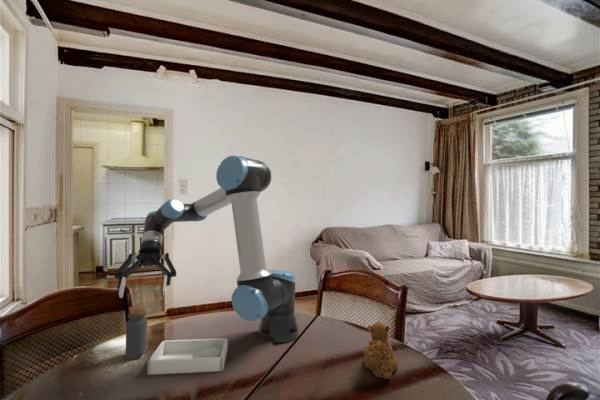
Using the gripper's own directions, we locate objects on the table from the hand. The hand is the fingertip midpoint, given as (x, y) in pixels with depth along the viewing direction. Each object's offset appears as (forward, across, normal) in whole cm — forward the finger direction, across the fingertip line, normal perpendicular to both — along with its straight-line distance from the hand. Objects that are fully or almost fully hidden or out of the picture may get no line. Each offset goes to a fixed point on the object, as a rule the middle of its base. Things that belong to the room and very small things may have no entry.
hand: (142, 294), depth 106 cm
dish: (+25, -21, +4) cm, 33 cm away
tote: (+26, -17, +3) cm, 31 cm away
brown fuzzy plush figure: (+38, -70, +16) cm, 81 cm away
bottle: (+19, 0, -4) cm, 19 cm away
